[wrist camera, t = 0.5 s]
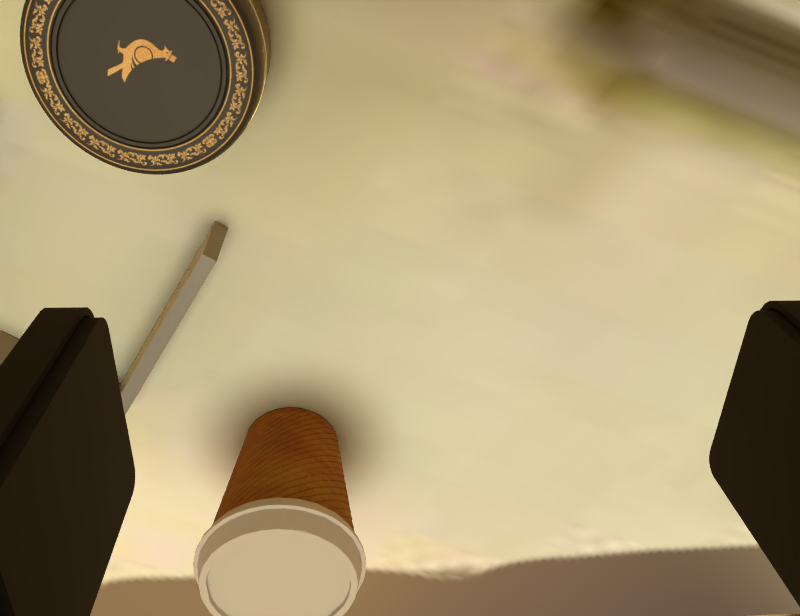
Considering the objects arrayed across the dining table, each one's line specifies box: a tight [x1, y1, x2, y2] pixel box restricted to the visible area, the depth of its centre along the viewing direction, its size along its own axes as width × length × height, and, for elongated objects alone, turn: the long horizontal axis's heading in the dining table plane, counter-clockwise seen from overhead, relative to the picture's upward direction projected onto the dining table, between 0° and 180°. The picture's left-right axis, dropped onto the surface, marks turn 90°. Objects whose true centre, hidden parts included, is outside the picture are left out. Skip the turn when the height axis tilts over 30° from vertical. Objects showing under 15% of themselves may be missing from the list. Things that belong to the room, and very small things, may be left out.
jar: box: [20, 0, 270, 174], centre depth 34 cm, size 10×10×8 cm
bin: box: [0, 221, 228, 414], centre depth 40 cm, size 14×14×5 cm
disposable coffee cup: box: [193, 408, 366, 616], centre depth 45 cm, size 10×10×12 cm
